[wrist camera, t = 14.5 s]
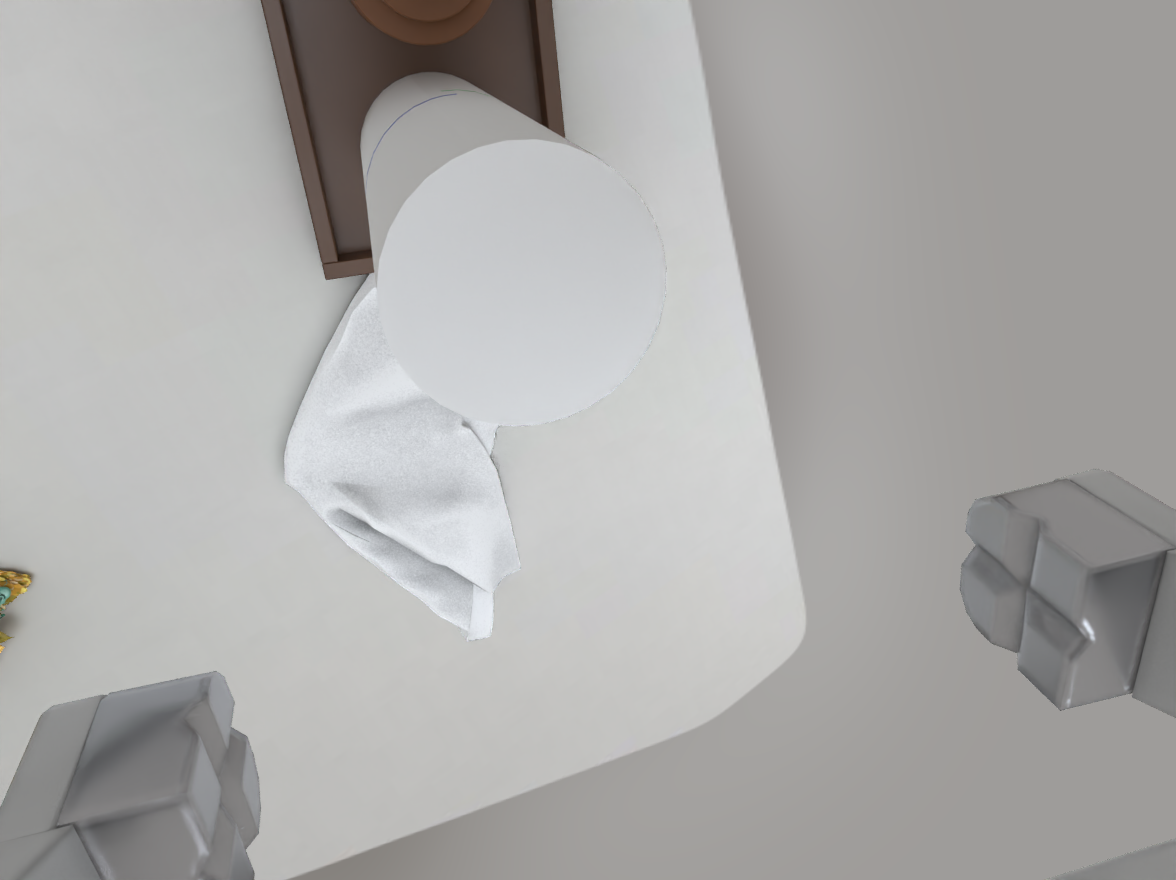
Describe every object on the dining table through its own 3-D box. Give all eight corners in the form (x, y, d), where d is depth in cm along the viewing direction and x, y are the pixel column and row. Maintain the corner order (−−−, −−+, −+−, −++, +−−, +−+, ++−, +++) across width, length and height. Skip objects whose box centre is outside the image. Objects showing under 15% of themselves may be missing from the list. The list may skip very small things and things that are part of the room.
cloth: (271, 225, 43) (268, 236, 41) (546, 235, 47) (556, 246, 45) (294, 652, 54) (293, 677, 52) (515, 633, 58) (522, 655, 56)
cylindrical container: (335, 100, 41) (325, 200, 20) (479, 51, 42) (625, 96, 20) (393, 243, 45) (440, 465, 23) (526, 196, 45) (694, 368, 24)
